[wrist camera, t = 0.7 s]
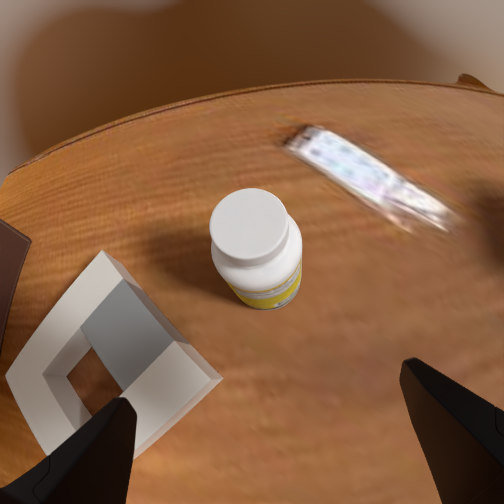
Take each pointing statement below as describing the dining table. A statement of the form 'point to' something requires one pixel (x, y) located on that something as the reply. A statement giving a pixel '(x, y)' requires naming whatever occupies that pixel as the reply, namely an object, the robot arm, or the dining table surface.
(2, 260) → the letter holder
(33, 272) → the dining table surface
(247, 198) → the supplement bottle
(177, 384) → the socket block
